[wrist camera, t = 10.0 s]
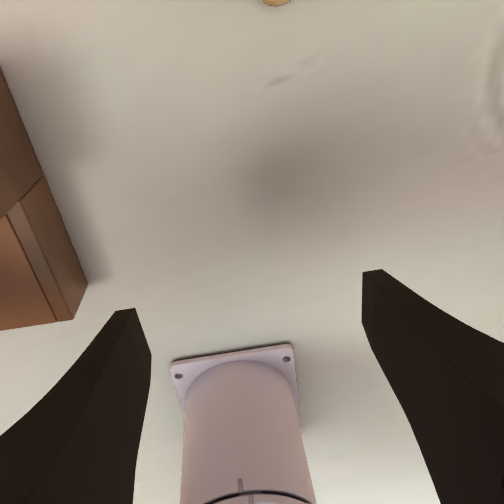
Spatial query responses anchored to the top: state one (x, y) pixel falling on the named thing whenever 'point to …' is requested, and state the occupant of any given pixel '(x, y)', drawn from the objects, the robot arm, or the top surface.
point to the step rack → (31, 235)
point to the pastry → (275, 2)
